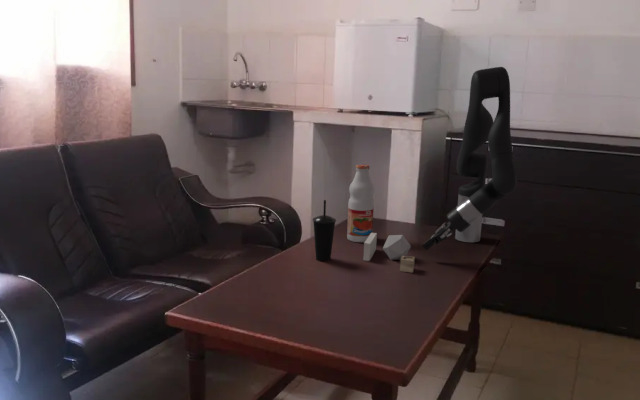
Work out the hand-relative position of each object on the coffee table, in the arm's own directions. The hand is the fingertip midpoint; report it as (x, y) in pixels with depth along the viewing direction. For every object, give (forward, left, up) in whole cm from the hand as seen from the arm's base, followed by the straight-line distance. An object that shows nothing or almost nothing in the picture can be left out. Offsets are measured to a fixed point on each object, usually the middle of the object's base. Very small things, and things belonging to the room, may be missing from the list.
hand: (424, 247), depth 204 cm
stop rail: (0, -18, -4) cm, 19 cm away
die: (+1, -9, -5) cm, 10 cm away
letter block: (+12, -4, -5) cm, 14 cm away
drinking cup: (+10, -32, -5) cm, 34 cm away
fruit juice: (-18, -25, -5) cm, 31 cm away
